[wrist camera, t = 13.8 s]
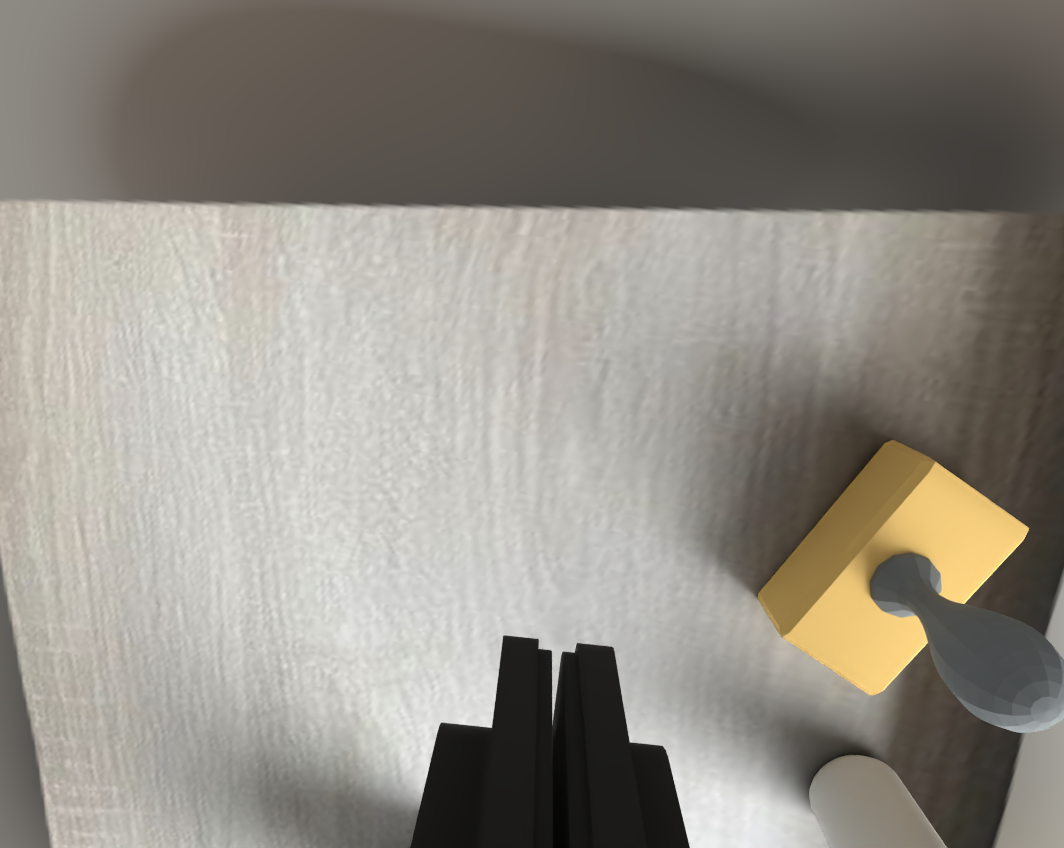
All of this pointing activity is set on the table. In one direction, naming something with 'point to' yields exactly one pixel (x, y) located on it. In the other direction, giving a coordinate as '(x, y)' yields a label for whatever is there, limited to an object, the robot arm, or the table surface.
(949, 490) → the rubber stamp
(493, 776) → the robot arm
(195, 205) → the table surface
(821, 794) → the beverage can
